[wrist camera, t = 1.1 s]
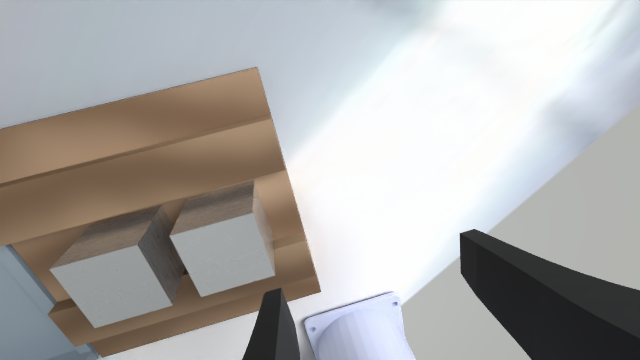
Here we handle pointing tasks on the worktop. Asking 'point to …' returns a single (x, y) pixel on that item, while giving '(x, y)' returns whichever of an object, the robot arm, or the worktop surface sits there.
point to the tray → (30, 316)
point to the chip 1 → (122, 267)
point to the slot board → (150, 193)
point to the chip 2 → (225, 238)
